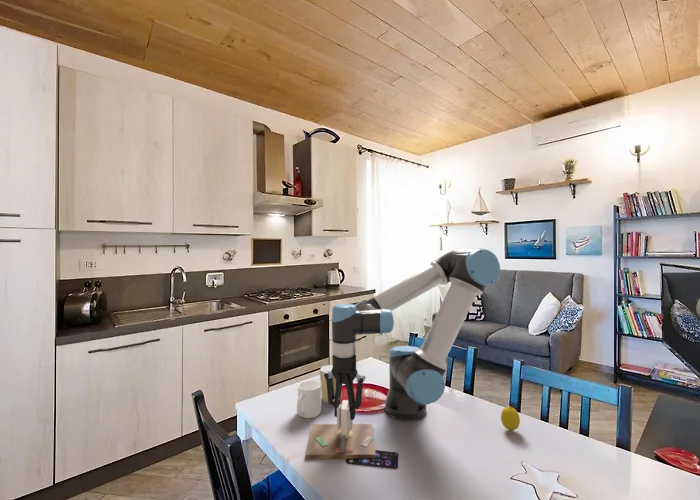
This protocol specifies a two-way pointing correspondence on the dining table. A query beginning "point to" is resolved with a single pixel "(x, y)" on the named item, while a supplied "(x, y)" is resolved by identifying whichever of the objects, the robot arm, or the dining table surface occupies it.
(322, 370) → the coffee cup
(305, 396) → the mug
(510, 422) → the lemon
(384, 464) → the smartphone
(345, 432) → the beige flat block
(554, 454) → the dining table surface
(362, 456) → the board
